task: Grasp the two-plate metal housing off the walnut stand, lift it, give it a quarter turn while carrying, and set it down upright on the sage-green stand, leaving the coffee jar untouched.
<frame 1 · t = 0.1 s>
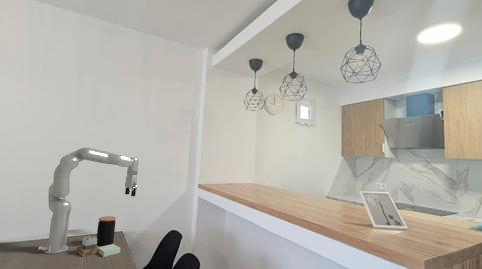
hand: (130, 195, 197), 31 cm above the table, fingers open, 9 cm apart
stand a: (88, 252, 160), on the table
stand b: (108, 252, 162), on the table
housing: (88, 247, 160), point 3 cm above the table, touching stand a
coffee jar: (104, 244, 175), on the table
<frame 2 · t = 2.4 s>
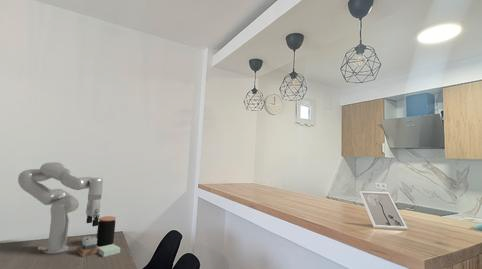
hand: (92, 224, 162), 17 cm above the table, fingers open, 9 cm apart
nothing on the table moved.
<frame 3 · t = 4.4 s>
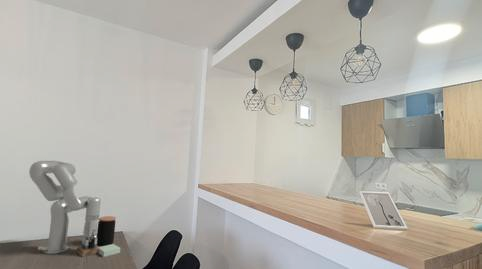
hand: (89, 246, 160), 4 cm above the table, fingers closed on housing, 6 cm apart
housing: (88, 247, 160), point 3 cm above the table, touching gripper, stand a
everything else where it was.
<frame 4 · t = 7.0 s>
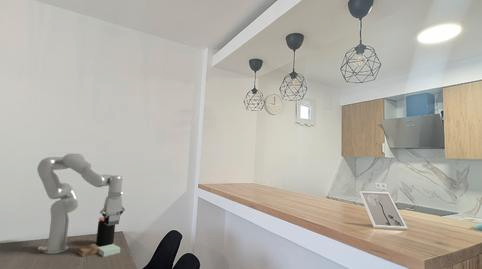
hand: (111, 222, 163), 19 cm above the table, fingers closed on housing, 6 cm apart
housing: (111, 223, 163), point 18 cm above the table, touching gripper
everything else where it was.
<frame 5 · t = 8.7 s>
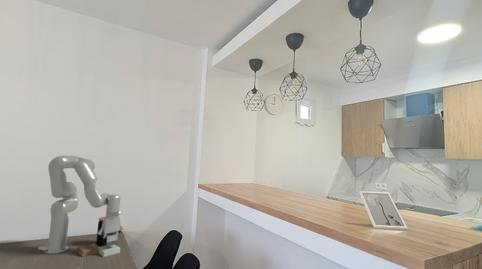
hand: (109, 242, 162), 6 cm above the table, fingers closed on housing, 6 cm apart
housing: (109, 243, 162), point 5 cm above the table, touching gripper
everything else where it was.
when the fingers open (5 cm above the table, at t = 9.8 s): housing drops 1 cm, resting on stand b.
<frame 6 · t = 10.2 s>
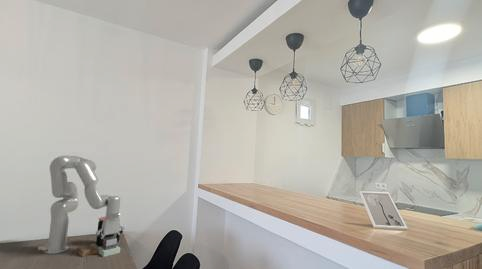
hand: (109, 243, 162), 6 cm above the table, fingers open, 9 cm apart
housing: (108, 247, 162), point 3 cm above the table, touching stand b
everything else where it was.
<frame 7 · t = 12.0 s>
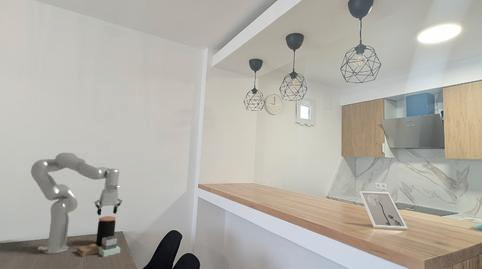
hand: (106, 214, 165), 24 cm above the table, fingers open, 9 cm apart
nothing on the table moved.
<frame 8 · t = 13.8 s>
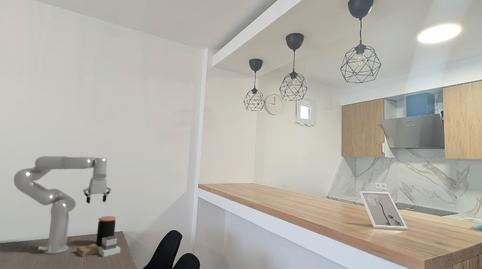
hand: (96, 202, 168), 30 cm above the table, fingers open, 9 cm apart
nothing on the table moved.
at the end: housing inside the target area on the stand b (0.1 cm from its centre), point 3.0 cm above the stand b's base; housing tilted 0°; the gripper is holding nothing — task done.
